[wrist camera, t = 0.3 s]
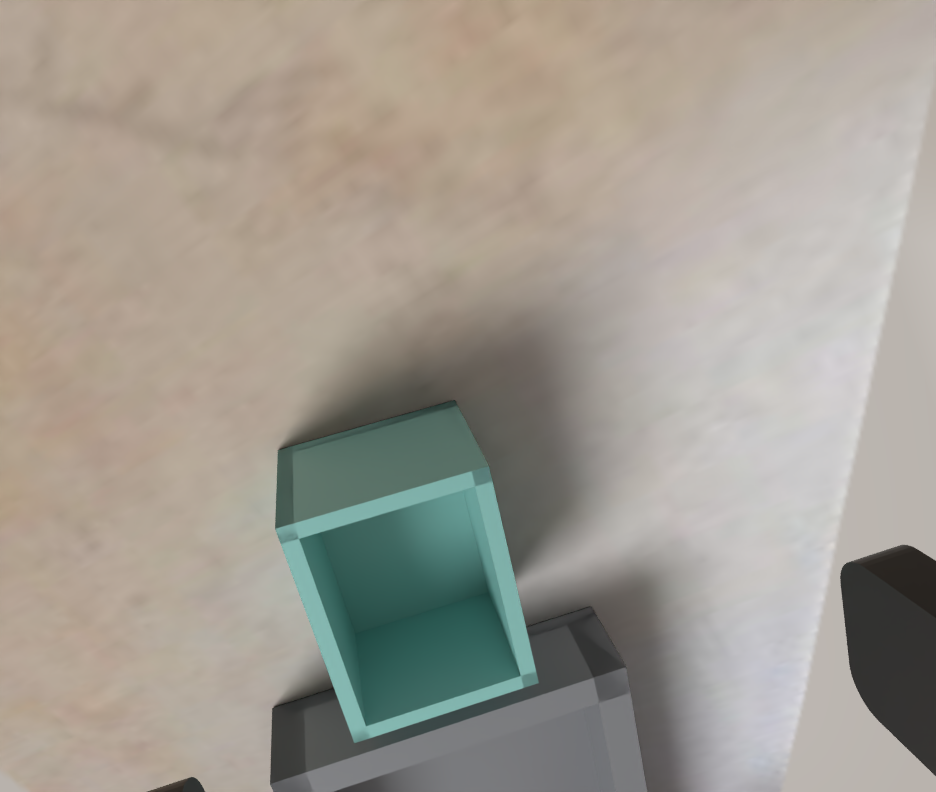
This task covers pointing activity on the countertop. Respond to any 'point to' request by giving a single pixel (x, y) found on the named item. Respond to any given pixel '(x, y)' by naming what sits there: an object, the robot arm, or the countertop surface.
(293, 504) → the small crate
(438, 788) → the large crate
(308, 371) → the countertop surface
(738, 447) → the countertop surface
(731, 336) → the countertop surface
